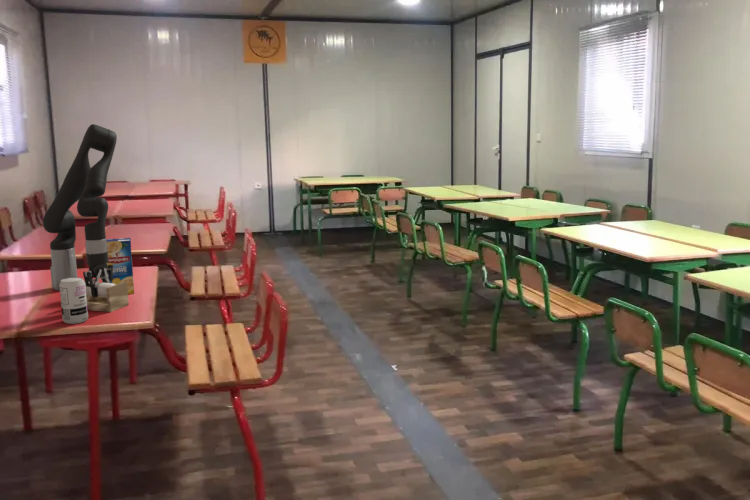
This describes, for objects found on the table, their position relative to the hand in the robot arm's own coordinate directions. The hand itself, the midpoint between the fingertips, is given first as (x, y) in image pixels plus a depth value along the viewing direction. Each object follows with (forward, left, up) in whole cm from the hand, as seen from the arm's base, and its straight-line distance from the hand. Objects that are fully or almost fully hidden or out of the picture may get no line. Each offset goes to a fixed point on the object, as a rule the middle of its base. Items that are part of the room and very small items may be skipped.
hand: (100, 294), depth 254 cm
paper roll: (0, 0, -1) cm, 1 cm away
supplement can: (+4, -18, -5) cm, 19 cm away
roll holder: (0, 0, -5) cm, 5 cm away
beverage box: (-7, +20, -5) cm, 22 cm away
